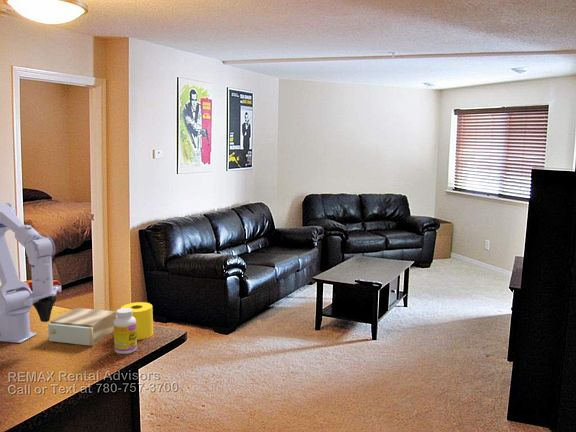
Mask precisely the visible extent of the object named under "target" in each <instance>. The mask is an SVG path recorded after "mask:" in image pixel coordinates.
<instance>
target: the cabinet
mask: <svg viewBox="0 0 576 432" xmlns="http://www.w3.org/2000/svg"><path fill="white" fill-rule="evenodd" d="M116 311H117V310H116ZM116 311H115V310H103V309H94V308H93V309H92V308H82V307H75V308H73V309H71V310H70V311H68V312H66V313H63V314H61V315H59V316H57V317H56V318H54V319H52V320H49V321H50V323H54V324H64V325H73V326H83V327H93V339H94V345H95V343H96V344H98V343H99V342H100V341H102V340H103V339H105V338H107V337H108V336H109V335H111V334H112V333H114V320H115V319H116V318H117V315H116ZM107 335H108V336H107ZM104 337H105V338H104ZM101 339H102V340H101ZM98 341H99V342H98Z"/></svg>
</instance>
